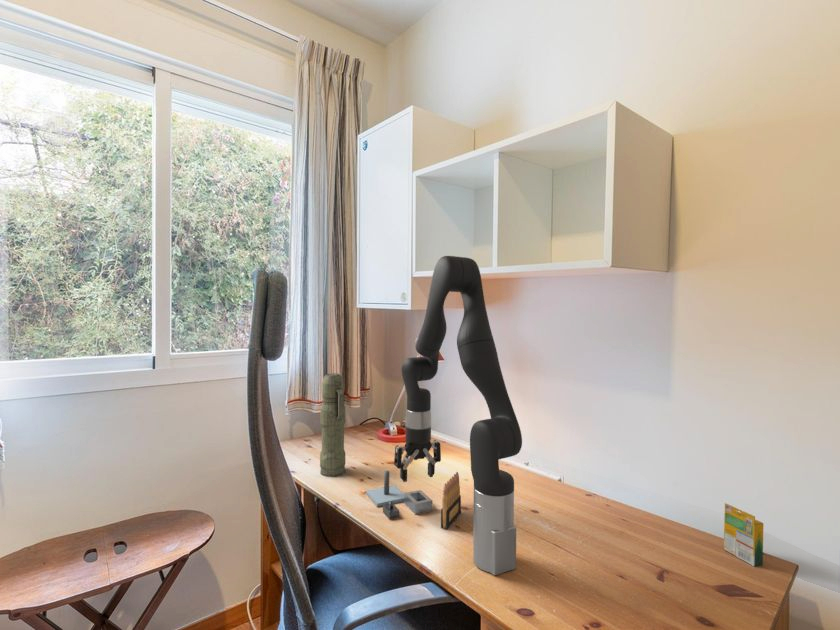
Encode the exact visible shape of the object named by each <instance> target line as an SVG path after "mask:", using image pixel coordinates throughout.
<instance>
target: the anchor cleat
mask: <svg viewBox="0 0 840 630" xmlns="http://www.w3.org/2000/svg"><path fill="white" fill-rule="evenodd" d="M382 514H384V515H385V516H386V517H387V518H388V520H394V519H398V518H400V509H399V508H398V507H397V506H396V505H395V503H394V504H393V501H389V504H385V505H383V506H382Z"/></svg>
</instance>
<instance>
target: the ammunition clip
mask: <svg viewBox="0 0 840 630" xmlns="http://www.w3.org/2000/svg"><path fill="white" fill-rule="evenodd" d="M442 492H443V493H442V502H441V503H442V505H441V507H442V508H441V509H440V511H441V512H440V529H444V530H448V529H450V527H451V526H452V525H453V524H454V522H455V521H456V519H457V518H458V517H459V516H460V515H461V513H462V496H461V486H460V475H459V472H458V471H456V472H455V474H453V476H451V478H449V480H447V481H446V482H445V483H444V485H443V491H442Z"/></svg>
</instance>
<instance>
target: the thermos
mask: <svg viewBox="0 0 840 630" xmlns="http://www.w3.org/2000/svg"><path fill="white" fill-rule="evenodd" d="M321 383H322V384H321V387H322V388H321V398H322V400H321V406H320V412H319V413H320V415H319V417H320V420H319V421H320V423H319V424H320V426H321V450H320V454H319V467H320V475H321V476H323V477H329V478H330V477H334V478H335V477H338V476H342V475H344V474H345V472H346V468H345V467H346V450H345V424H346V406H345V402H344V400H345V397H344V396H345V395H344V394H345V393H344V392H345V388H344V387H345V386H344V385H345V383H344V379H343V376H342V374H340V373H326V374H325V375H324V377H323V379H322V382H321Z"/></svg>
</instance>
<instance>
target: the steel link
mask: <svg viewBox="0 0 840 630" xmlns="http://www.w3.org/2000/svg"><path fill="white" fill-rule="evenodd" d="M403 493H404V501H403V504H404V505H405V506H406V507H407V508H408V509H409V510H410V511H411V512H412V513H413V514H414V515H420V514H424V513H428V512H433V500H432V499H431V498H430V497H429V496H428V495H427V494H426V493H424V492H423V491H422V490H421V489H418V490H413V491H408V492H407V491H406V492H403Z"/></svg>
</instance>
